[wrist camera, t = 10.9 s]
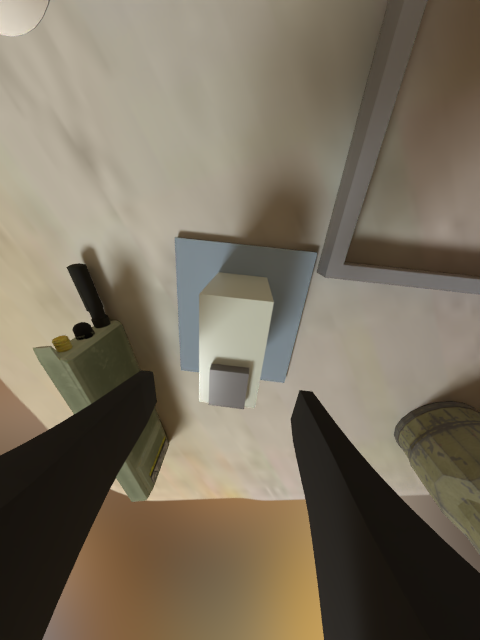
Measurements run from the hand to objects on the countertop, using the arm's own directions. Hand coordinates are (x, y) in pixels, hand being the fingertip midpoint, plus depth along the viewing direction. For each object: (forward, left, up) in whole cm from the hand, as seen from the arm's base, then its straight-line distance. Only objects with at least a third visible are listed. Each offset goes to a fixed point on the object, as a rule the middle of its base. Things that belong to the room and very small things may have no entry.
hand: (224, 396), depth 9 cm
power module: (0, 0, -9) cm, 9 cm away
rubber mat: (0, 0, -9) cm, 9 cm away
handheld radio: (+11, +9, -10) cm, 17 cm away
